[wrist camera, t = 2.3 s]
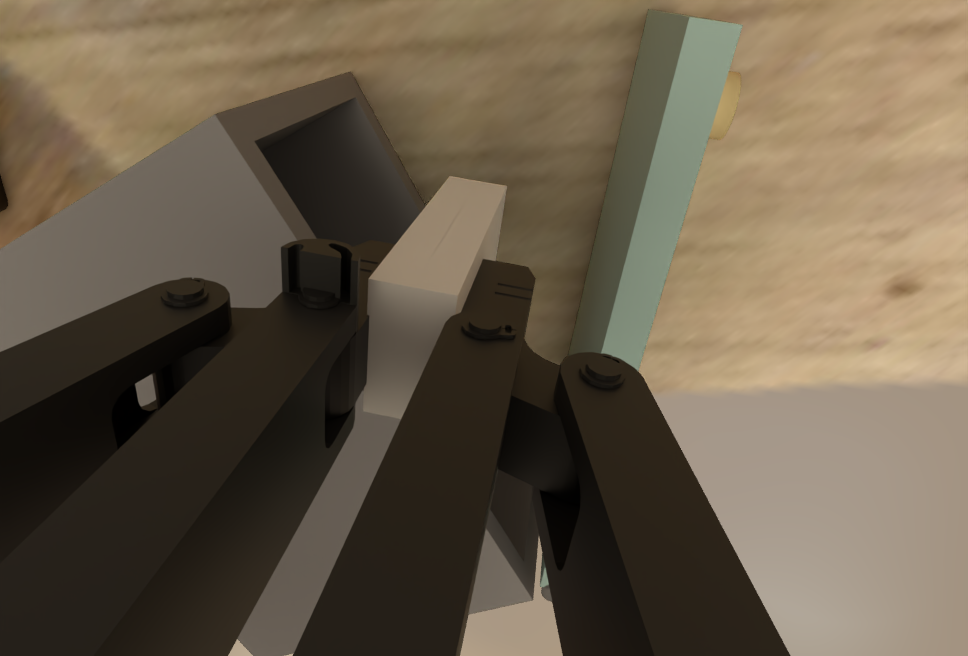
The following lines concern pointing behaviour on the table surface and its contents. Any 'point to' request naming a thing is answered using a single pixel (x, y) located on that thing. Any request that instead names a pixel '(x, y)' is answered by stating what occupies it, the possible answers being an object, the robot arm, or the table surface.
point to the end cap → (2, 197)
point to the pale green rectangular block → (654, 180)
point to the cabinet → (257, 294)
